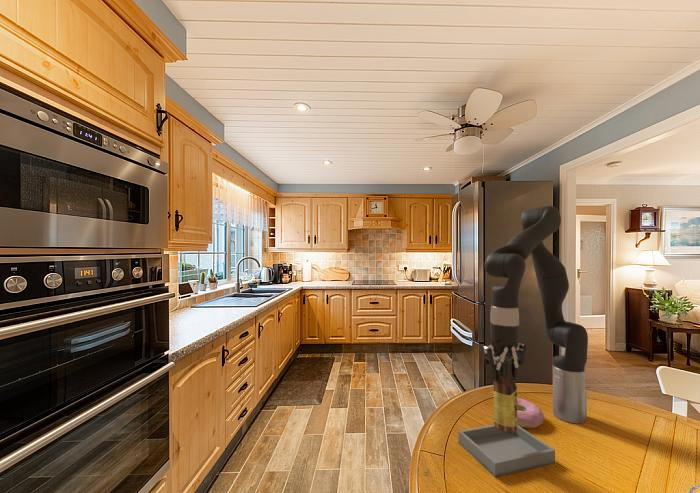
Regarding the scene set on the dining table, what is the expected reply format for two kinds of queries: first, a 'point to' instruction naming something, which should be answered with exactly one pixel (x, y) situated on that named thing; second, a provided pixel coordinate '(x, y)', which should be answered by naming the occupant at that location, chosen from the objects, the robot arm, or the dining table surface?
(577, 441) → the dining table surface
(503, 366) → the sauce bottle
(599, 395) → the dining table surface
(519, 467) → the tray
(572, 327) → the robot arm
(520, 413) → the donut
